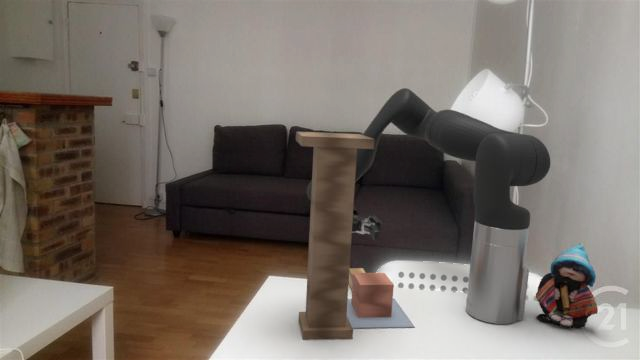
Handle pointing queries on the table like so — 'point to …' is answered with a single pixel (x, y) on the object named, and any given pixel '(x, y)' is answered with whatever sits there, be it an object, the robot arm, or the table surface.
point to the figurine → (568, 290)
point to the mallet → (371, 293)
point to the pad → (379, 318)
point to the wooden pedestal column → (330, 232)
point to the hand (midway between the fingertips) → (356, 237)
